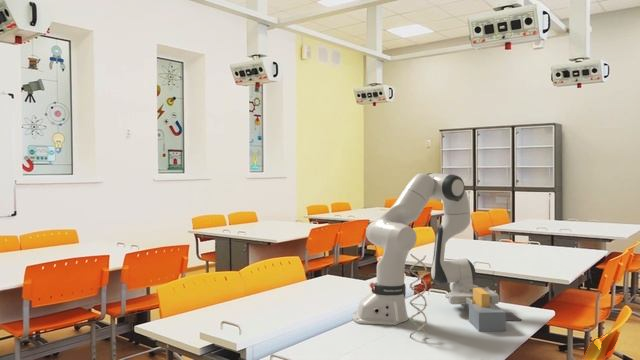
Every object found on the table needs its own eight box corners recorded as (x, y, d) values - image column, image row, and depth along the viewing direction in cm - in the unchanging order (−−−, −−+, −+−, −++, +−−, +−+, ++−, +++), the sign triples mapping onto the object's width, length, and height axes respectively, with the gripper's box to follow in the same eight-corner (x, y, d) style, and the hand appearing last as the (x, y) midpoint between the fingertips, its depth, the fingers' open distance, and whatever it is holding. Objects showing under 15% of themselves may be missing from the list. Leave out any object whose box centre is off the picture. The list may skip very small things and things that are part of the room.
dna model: (406, 339, 184) (406, 255, 183) (412, 333, 190) (412, 252, 189) (424, 342, 181) (424, 256, 180) (429, 336, 186) (430, 253, 186)
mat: (496, 321, 204) (496, 320, 204) (487, 313, 214) (487, 312, 214) (521, 320, 204) (521, 319, 204) (511, 313, 214) (511, 312, 214)
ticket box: (479, 331, 192) (479, 312, 192) (468, 321, 204) (468, 303, 204) (505, 330, 192) (505, 312, 192) (493, 320, 205) (493, 303, 204)
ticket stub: (481, 325, 199) (481, 294, 199) (473, 317, 209) (473, 287, 209) (489, 324, 200) (489, 294, 199) (480, 317, 210) (480, 287, 209)
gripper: (444, 287, 220) (453, 295, 206) (491, 286, 220) (504, 294, 207) (444, 302, 220) (453, 311, 206) (491, 301, 221) (504, 310, 207)
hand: (479, 303), depth 206 cm, fingers closed on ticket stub, 3 cm apart
